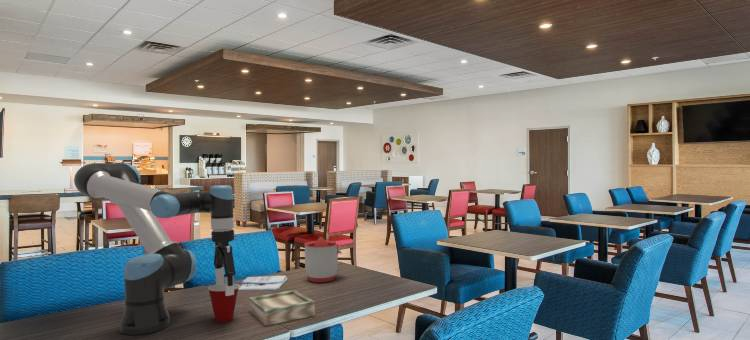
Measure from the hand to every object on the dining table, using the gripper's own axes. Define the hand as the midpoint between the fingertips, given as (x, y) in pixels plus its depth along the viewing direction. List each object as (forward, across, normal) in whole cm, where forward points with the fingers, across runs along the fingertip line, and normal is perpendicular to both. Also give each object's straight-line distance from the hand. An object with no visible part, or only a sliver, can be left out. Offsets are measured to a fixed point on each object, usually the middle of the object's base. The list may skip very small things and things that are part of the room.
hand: (224, 290), depth 159 cm
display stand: (+10, -5, -19) cm, 22 cm away
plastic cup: (+10, 0, 0) cm, 10 cm away
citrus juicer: (+10, +29, -52) cm, 60 cm away
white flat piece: (+11, +38, -26) cm, 47 cm away
